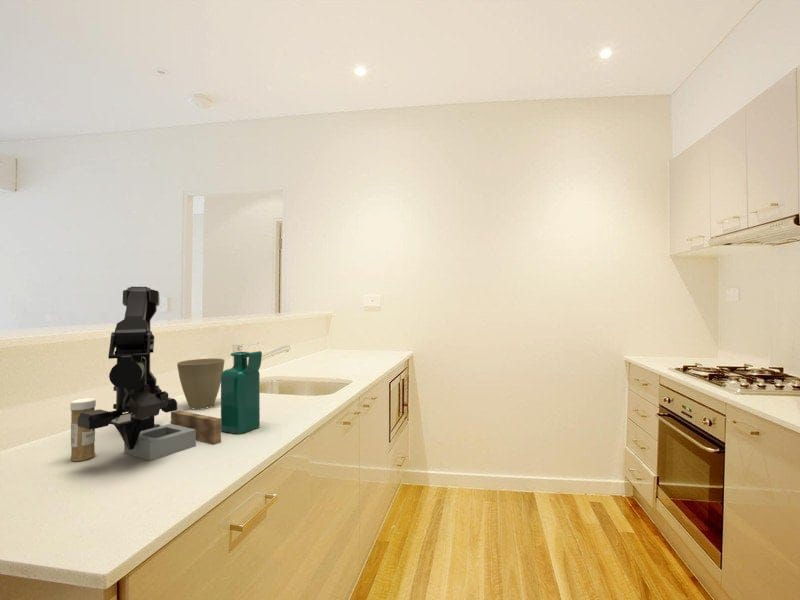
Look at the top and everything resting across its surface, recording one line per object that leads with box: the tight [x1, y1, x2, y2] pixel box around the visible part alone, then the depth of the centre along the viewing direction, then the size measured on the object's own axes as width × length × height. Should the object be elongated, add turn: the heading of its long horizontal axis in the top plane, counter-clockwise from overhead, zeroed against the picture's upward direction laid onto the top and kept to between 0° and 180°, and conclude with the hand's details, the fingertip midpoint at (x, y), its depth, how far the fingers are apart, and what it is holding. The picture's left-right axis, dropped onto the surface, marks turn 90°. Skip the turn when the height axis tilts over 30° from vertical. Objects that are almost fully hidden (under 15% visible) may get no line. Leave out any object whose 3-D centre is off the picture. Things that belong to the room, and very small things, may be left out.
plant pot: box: [176, 357, 225, 410], centre depth 138 cm, size 15×15×16 cm
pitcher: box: [220, 350, 263, 435], centre depth 113 cm, size 10×8×22 cm
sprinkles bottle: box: [69, 397, 97, 462], centre depth 92 cm, size 5×5×13 cm
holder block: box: [123, 423, 197, 462], centre depth 97 cm, size 11×11×4 cm
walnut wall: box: [170, 409, 222, 445], centre depth 105 cm, size 18×2×6 cm, turn 62°
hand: (130, 449), depth 91 cm, fingers closed
